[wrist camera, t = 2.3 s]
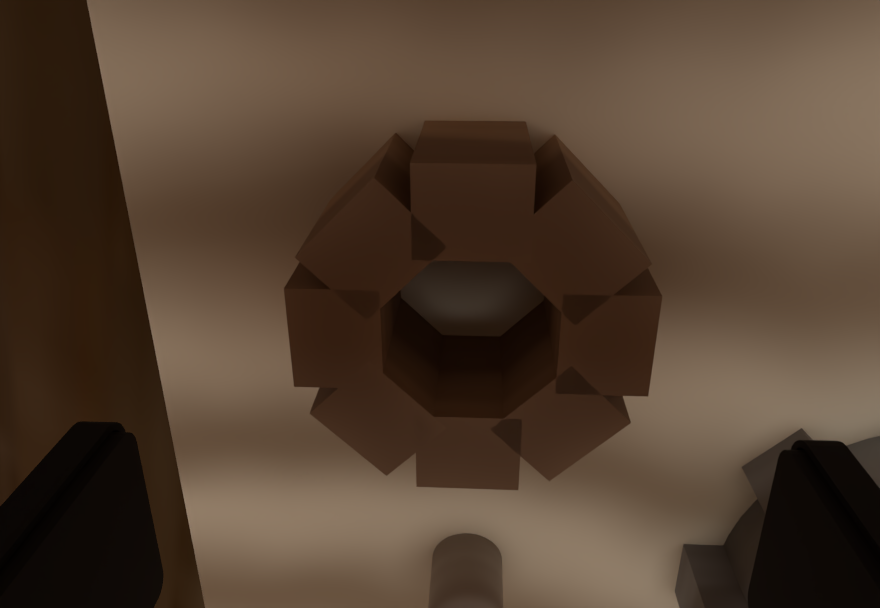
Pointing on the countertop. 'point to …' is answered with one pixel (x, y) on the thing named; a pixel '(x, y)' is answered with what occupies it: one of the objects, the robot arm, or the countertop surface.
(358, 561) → the gear board
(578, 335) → the walnut gear
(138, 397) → the countertop surface
